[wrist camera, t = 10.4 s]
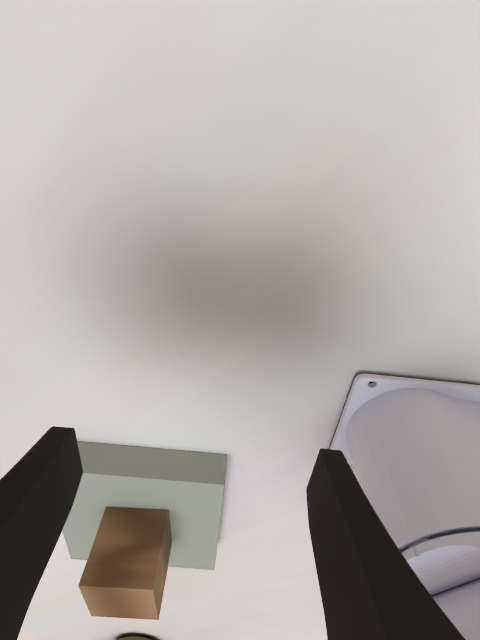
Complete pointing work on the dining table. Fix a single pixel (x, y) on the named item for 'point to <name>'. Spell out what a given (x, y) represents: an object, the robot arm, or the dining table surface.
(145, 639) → the bottle
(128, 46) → the dining table surface
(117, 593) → the walnut block
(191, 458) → the grey platform
